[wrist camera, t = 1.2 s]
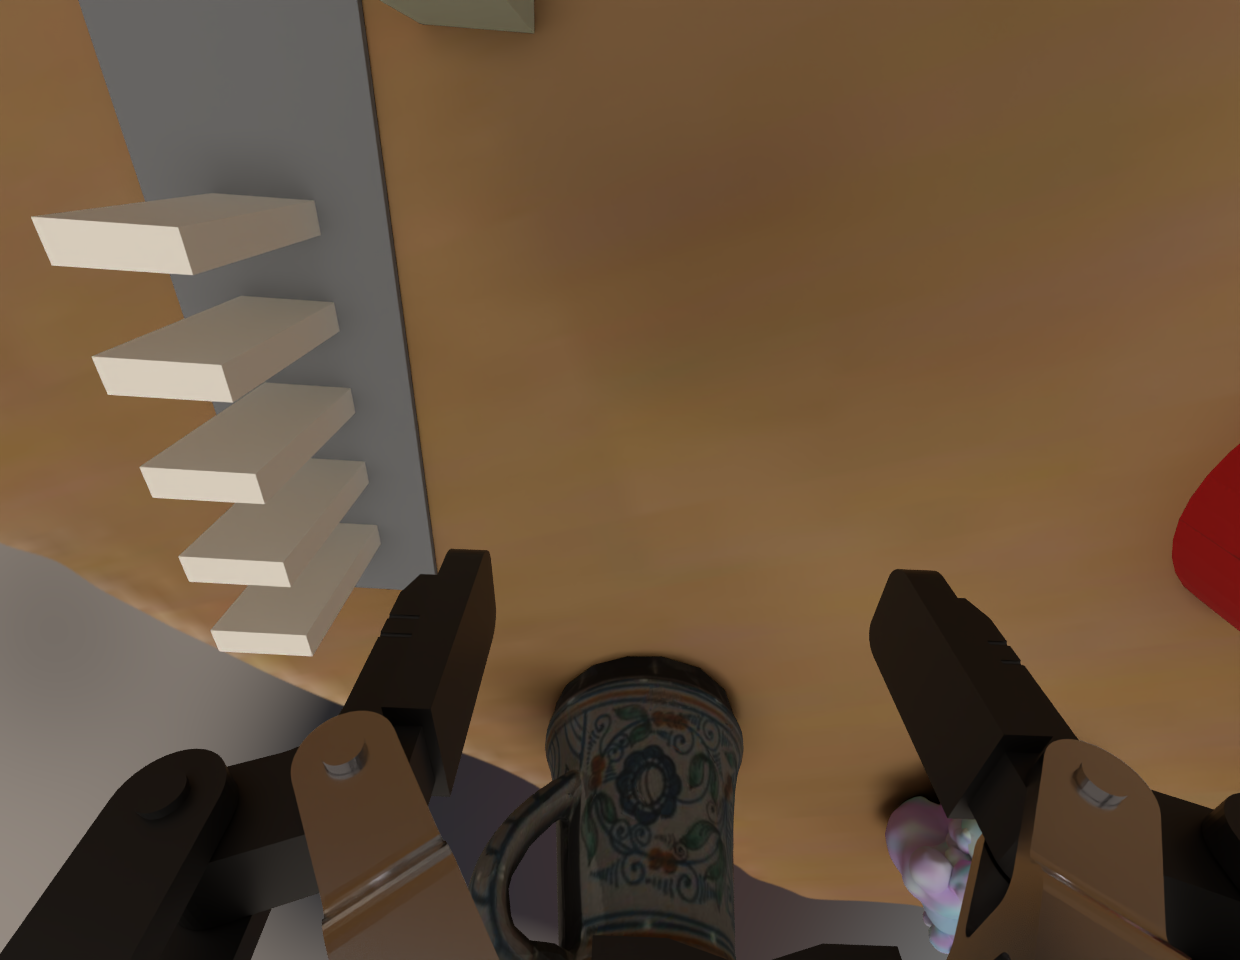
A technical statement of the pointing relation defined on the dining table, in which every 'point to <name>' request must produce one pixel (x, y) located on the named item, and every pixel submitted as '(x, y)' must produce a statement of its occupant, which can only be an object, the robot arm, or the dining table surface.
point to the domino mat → (293, 169)
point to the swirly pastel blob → (933, 862)
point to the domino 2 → (218, 350)
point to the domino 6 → (470, 13)
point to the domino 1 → (176, 232)
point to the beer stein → (628, 814)
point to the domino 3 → (250, 445)
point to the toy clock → (1213, 540)
